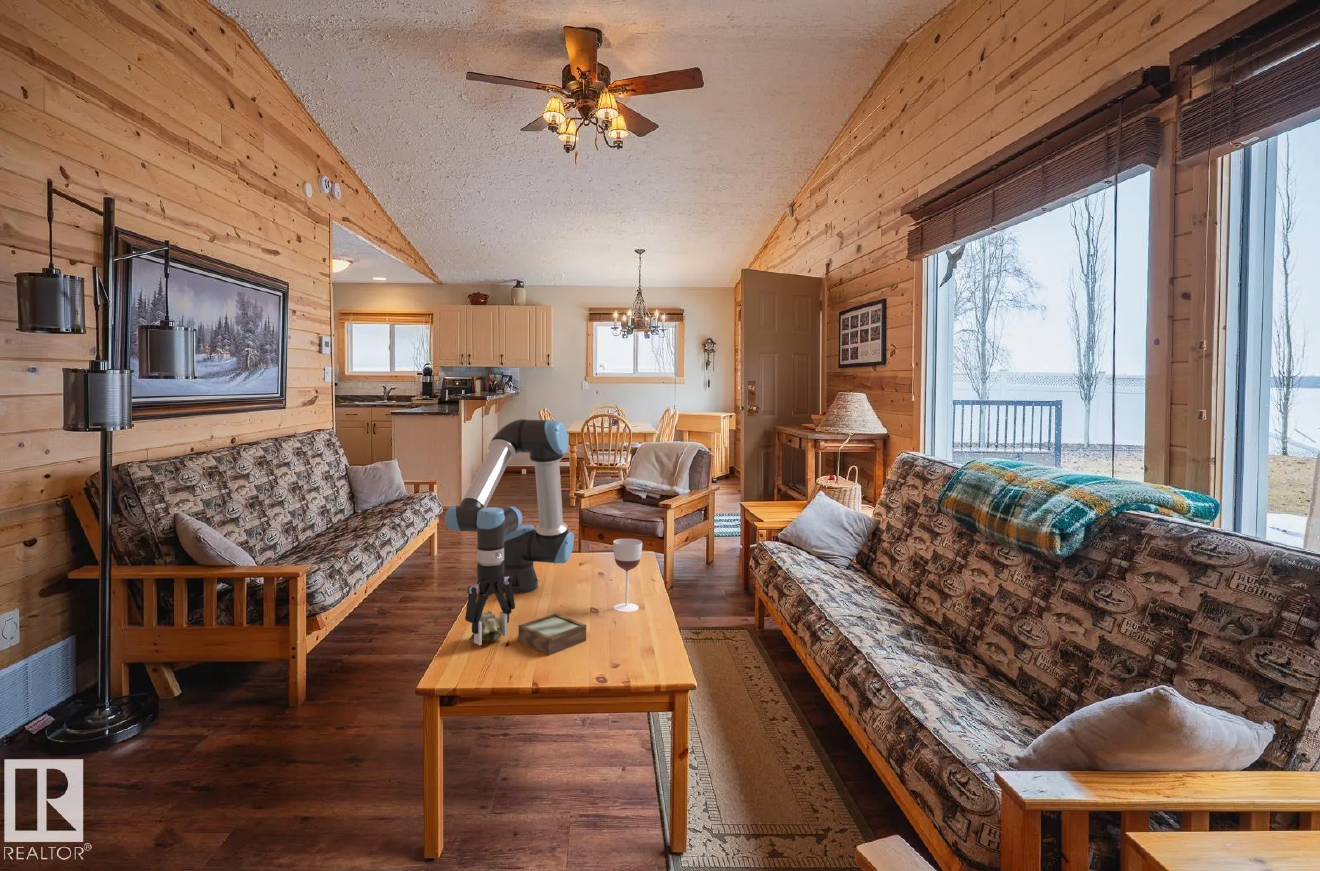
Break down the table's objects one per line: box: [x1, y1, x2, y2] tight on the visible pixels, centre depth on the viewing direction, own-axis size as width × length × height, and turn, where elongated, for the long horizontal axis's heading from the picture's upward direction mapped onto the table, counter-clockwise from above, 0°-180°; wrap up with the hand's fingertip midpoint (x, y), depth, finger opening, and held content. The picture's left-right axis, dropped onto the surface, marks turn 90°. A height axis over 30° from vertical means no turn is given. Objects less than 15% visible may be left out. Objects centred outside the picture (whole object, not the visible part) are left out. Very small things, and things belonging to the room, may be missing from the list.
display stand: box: [517, 612, 587, 656], centre depth 179 cm, size 14×14×5 cm
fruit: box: [468, 611, 503, 642], centre depth 177 cm, size 9×9×8 cm
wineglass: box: [612, 538, 643, 613], centre depth 209 cm, size 9×10×23 cm
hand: (490, 638), depth 176 cm, fingers closed on fruit, 8 cm apart
